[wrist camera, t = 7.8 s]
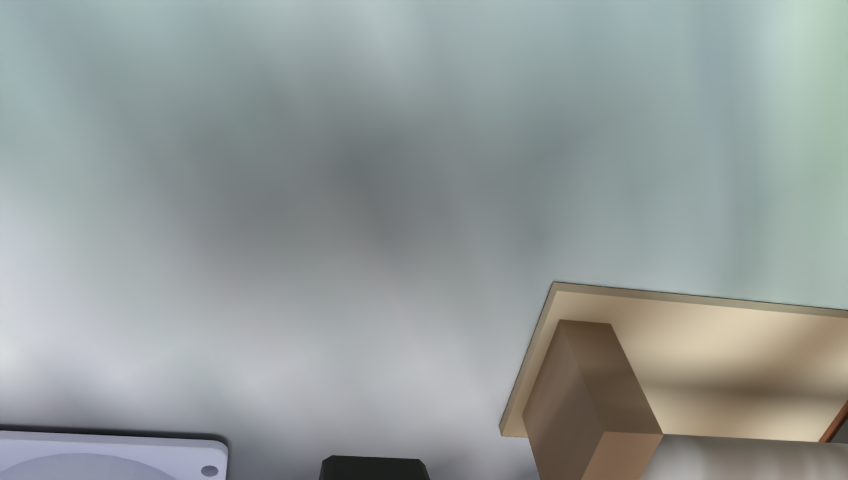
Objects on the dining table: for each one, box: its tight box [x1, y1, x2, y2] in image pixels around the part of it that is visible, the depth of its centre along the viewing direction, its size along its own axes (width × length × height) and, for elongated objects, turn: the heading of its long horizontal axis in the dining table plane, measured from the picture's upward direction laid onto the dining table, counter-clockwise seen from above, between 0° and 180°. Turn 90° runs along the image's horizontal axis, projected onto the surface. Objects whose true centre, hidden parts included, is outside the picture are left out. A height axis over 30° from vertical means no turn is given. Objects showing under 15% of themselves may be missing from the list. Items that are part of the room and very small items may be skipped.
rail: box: [499, 282, 848, 480], centre depth 24 cm, size 17×6×5 cm, turn 78°
